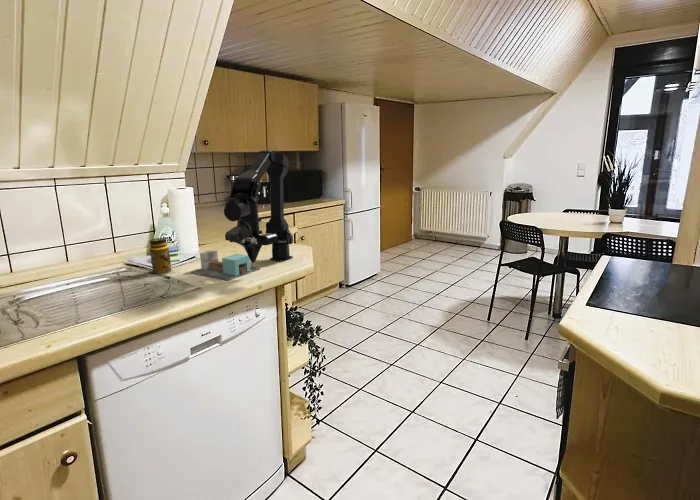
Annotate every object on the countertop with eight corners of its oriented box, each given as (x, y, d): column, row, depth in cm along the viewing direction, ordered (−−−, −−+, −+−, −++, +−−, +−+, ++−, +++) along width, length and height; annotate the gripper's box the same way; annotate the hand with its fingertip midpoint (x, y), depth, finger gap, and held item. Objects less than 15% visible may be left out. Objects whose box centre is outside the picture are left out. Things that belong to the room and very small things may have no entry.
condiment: (174, 272, 142) (170, 239, 139) (148, 277, 138) (143, 243, 135) (170, 268, 148) (166, 236, 145) (145, 272, 143) (140, 239, 141)
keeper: (238, 268, 144) (237, 253, 142) (250, 270, 141) (249, 255, 139) (223, 273, 138) (221, 258, 137) (235, 275, 135) (234, 260, 134)
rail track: (223, 262, 153) (221, 246, 152) (260, 269, 144) (258, 252, 142) (189, 273, 141) (187, 255, 140) (227, 280, 131) (225, 262, 130)
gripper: (209, 217, 129) (214, 264, 132) (252, 222, 119) (256, 272, 123) (235, 212, 138) (240, 257, 141) (277, 216, 128) (280, 263, 132)
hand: (253, 262), depth 134 cm, fingers closed
